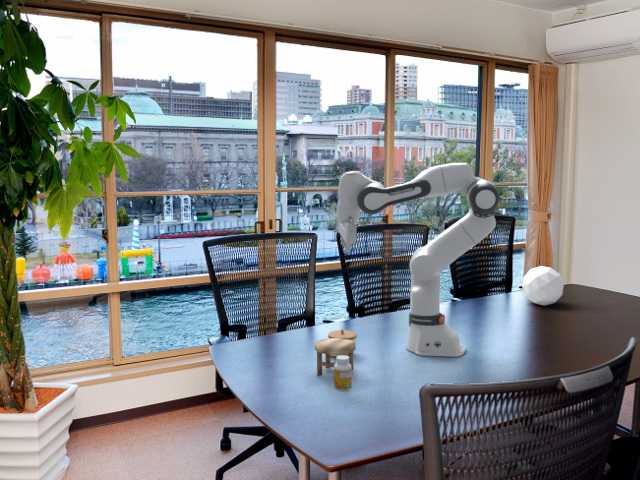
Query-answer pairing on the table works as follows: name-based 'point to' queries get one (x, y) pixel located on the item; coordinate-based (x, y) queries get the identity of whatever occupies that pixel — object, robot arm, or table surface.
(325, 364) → the stool
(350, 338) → the lidded jar
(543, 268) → the geometric polyhedron
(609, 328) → the table surface
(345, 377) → the supplement bottle
